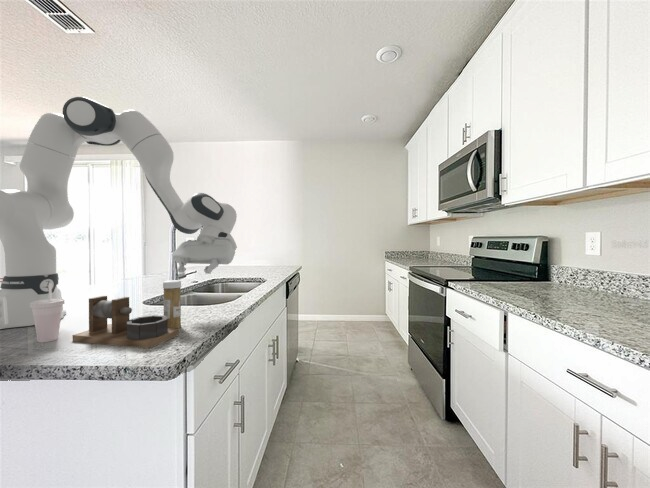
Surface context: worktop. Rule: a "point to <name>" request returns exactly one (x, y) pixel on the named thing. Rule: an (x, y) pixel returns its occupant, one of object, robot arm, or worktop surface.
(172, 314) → the pill bottle
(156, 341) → the winch stand
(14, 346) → the worktop surface
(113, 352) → the worktop surface
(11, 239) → the robot arm
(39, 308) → the smoothie
